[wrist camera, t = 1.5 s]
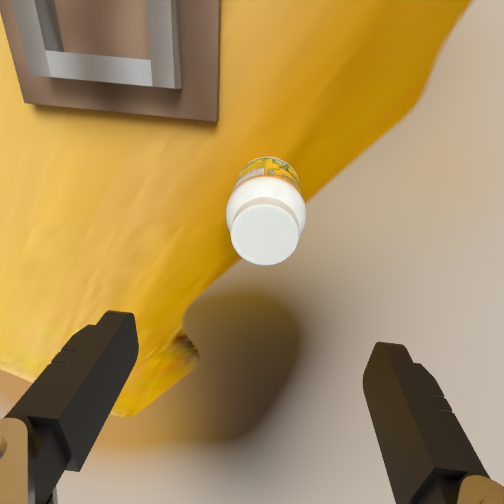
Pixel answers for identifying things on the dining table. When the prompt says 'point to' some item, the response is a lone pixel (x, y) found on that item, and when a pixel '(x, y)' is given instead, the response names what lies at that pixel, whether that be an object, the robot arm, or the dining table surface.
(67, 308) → the dining table surface
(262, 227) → the supplement bottle
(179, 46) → the socket holder
